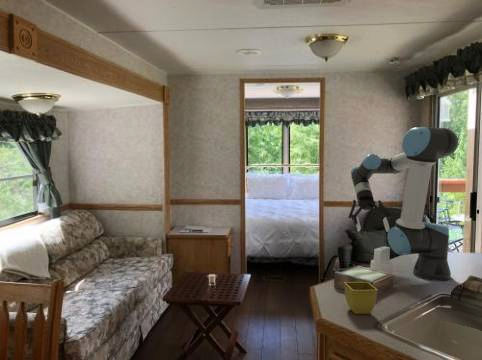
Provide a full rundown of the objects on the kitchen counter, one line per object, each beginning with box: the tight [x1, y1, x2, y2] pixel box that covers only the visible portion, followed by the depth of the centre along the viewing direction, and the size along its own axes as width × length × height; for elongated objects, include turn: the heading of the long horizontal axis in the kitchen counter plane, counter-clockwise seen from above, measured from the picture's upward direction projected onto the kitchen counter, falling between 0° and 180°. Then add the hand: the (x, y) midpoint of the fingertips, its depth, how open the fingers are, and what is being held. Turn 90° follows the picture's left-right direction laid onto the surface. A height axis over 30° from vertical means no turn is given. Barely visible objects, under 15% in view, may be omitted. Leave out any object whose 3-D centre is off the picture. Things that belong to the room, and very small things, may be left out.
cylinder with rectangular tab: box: [370, 245, 393, 274], centre depth 184 cm, size 9×9×12 cm
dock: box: [333, 265, 395, 296], centre depth 168 cm, size 16×19×6 cm
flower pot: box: [344, 282, 378, 315], centre depth 143 cm, size 9×9×9 cm
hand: (373, 230), depth 195 cm, fingers open, 13 cm apart
